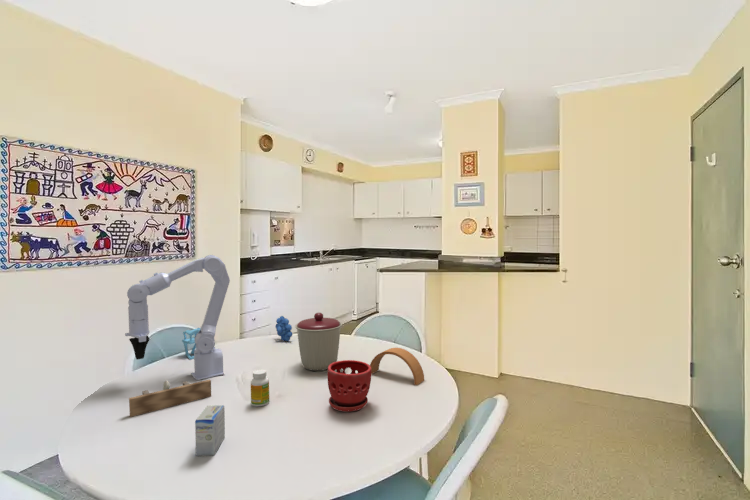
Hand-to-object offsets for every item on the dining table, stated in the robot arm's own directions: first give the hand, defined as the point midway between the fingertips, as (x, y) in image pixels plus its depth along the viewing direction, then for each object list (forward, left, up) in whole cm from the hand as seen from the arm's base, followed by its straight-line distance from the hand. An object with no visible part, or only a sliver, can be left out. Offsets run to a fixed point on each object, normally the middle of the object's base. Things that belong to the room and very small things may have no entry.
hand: (139, 358), depth 133 cm
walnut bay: (-5, +19, -9) cm, 22 cm away
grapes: (-62, -20, -10) cm, 66 cm away
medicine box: (-7, +56, -10) cm, 57 cm away
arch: (-72, +51, -10) cm, 89 cm away
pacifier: (-3, +19, -10) cm, 22 cm away
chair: (-23, -24, -10) cm, 35 cm away
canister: (-57, +23, -10) cm, 62 cm away
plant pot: (-46, +59, -10) cm, 75 cm away
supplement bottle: (-26, +40, -10) cm, 49 cm away
